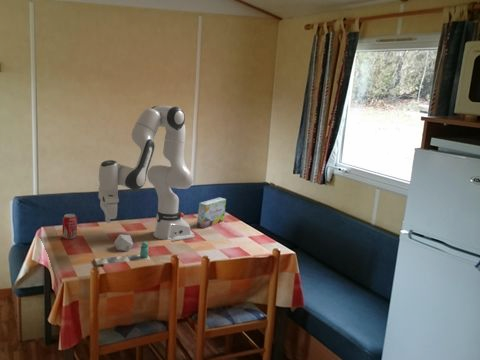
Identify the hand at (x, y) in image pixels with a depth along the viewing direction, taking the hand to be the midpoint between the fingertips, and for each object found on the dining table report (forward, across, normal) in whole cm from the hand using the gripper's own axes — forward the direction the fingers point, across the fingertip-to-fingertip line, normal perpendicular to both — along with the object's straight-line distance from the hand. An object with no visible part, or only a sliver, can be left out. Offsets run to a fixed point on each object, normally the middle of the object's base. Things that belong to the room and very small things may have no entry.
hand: (107, 221), depth 228 cm
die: (+16, +1, +8) cm, 18 cm away
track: (+15, +13, +4) cm, 21 cm away
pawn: (+14, +14, +15) cm, 24 cm away
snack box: (+18, -29, +69) cm, 77 cm away
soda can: (+16, -24, -14) cm, 32 cm away
